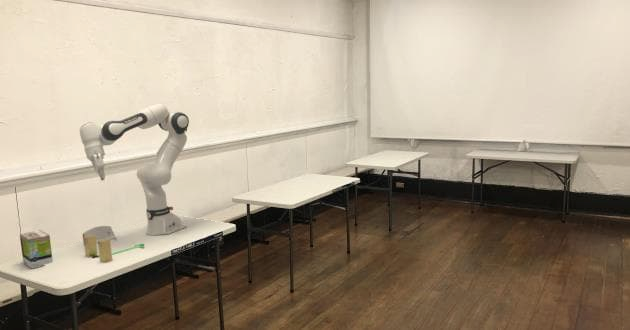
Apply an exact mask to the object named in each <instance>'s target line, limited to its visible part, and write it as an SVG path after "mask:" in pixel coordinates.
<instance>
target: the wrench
mask: <svg viewBox="0 0 630 330" xmlns="http://www.w3.org/2000/svg"><path fill="white" fill-rule="evenodd" d="M134 249H145V243H139V244H135V246H132V247H129V248H125V249H123V250H122V249H121V250H119V251H115V252H111V253H112V256H114V255H117V254H120V253H123V252H127V251H130V250H134ZM97 259H99V260H100V255H99V257H98V258H97Z"/></svg>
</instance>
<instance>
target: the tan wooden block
mask: <svg viewBox="0 0 630 330" xmlns="http://www.w3.org/2000/svg"><path fill="white" fill-rule="evenodd" d="M97 245H98V247H97V248H98V253H99V256H100V257H99V258H100V259H99V261H100V262H102V263H108V262H111V261H113V255H112V253H113V252H112V248H111V247H112V246H111V240H108V239H103V240H100V241H98V243H97Z"/></svg>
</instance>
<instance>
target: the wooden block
mask: <svg viewBox="0 0 630 330" xmlns="http://www.w3.org/2000/svg"><path fill="white" fill-rule="evenodd" d="M83 238H84V243H83V246H84V254H85V256H86V257H88V258H91V257H92V256H96V255H98V249H97V248H98V247H97V244H96V239H95V236H94V235H87V236H84V237H83V236H82V239H83Z"/></svg>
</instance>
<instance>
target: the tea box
mask: <svg viewBox="0 0 630 330" xmlns="http://www.w3.org/2000/svg"><path fill="white" fill-rule="evenodd" d="M19 241H20V247H21V248H20V249H21V256H22V261H23V263H24V264H25V265H27V267H29V268H30V269H37V268H40V267H45V266H46V264H50V263H53V262H54V261H53V260H54V259H53V254H52V253H53V251H52V243H51V237H50V234H49V233H47V232H45V231H43V230H41V229H39V230H34V231H28V232H24V233H23V232H22V233H20V234H19Z"/></svg>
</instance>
